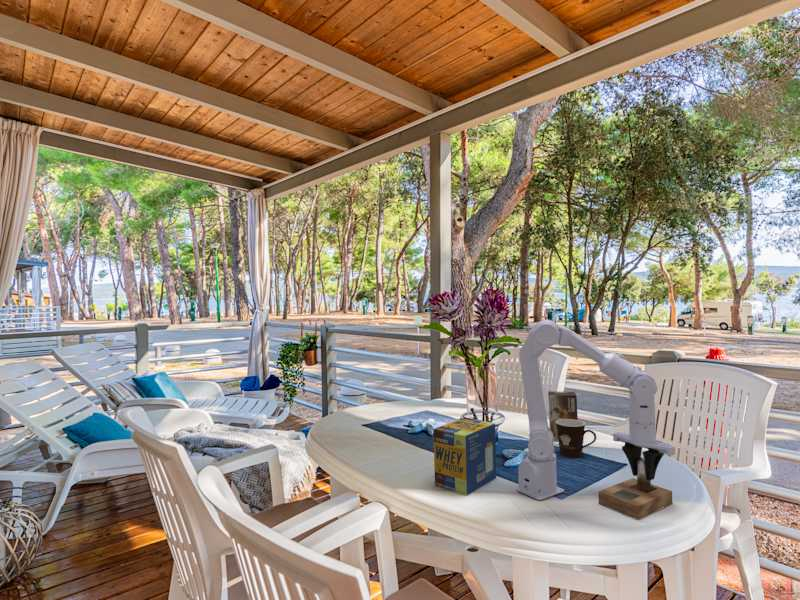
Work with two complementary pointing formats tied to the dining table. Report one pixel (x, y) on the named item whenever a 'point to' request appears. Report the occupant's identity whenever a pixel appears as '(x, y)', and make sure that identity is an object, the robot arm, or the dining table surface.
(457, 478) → the protein box
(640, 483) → the pin
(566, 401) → the coffee box
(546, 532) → the dining table surface
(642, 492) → the block
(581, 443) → the coffee mug
